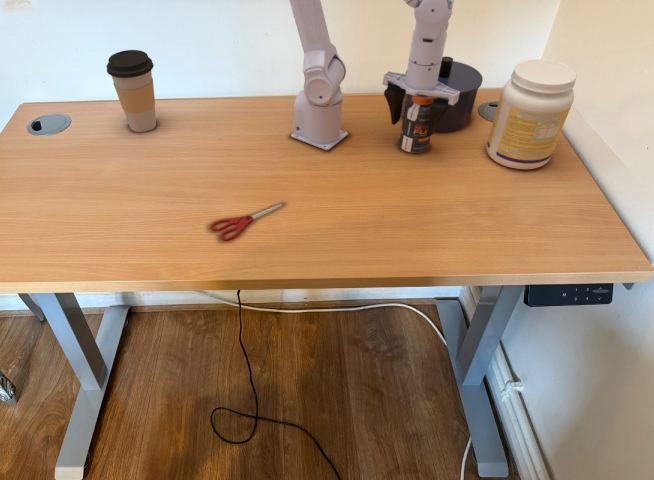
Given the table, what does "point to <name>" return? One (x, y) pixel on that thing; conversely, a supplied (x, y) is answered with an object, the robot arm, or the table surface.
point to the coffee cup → (134, 87)
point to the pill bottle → (416, 124)
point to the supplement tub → (531, 113)
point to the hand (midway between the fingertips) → (412, 128)
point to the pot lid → (459, 76)
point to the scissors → (238, 223)
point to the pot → (452, 112)
